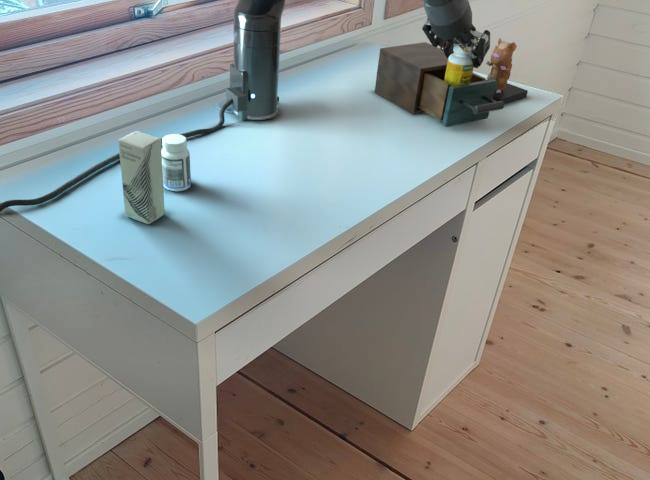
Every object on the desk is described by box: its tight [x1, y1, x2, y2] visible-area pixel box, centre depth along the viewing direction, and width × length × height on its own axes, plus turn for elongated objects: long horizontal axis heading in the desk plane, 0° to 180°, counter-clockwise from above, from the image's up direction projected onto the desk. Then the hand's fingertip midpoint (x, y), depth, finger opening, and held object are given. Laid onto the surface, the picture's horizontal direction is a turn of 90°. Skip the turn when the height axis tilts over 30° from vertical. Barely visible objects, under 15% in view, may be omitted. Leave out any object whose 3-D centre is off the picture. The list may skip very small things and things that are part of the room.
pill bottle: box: [161, 133, 192, 192], centre depth 115 cm, size 5×5×8 cm
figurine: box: [485, 37, 529, 106], centre depth 153 cm, size 10×10×12 cm
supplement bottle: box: [444, 44, 475, 86], centre depth 139 cm, size 5×5×10 cm
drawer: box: [417, 68, 505, 128], centre depth 142 cm, size 19×11×8 cm, turn 28°
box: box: [118, 130, 166, 225], centre depth 105 cm, size 5×4×13 cm
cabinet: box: [374, 41, 448, 116], centre depth 150 cm, size 15×13×10 cm
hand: (465, 60), depth 139 cm, fingers closed on supplement bottle, 5 cm apart
